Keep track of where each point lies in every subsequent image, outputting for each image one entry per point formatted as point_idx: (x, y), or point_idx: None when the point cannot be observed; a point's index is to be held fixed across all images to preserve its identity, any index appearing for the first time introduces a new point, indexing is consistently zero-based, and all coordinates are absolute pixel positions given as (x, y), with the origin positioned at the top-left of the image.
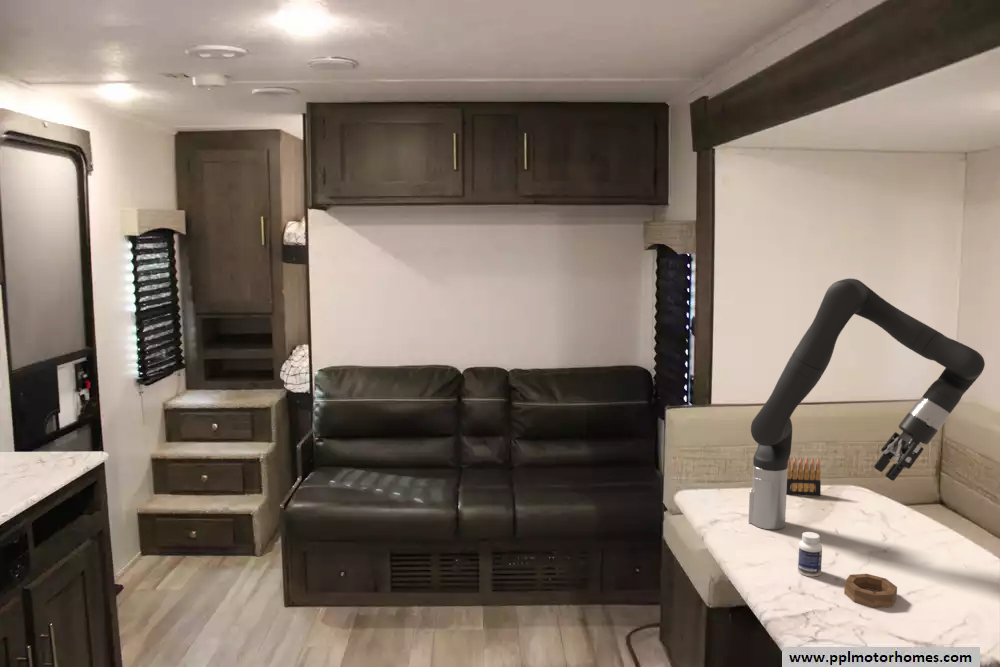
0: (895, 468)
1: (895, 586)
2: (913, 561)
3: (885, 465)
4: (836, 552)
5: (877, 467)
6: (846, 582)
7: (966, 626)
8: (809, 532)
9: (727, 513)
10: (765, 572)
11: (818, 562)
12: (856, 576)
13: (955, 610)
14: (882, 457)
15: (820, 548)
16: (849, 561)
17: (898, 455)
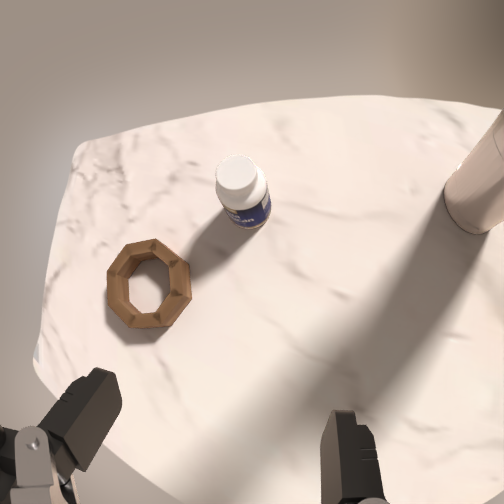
0: (49, 414)
1: (131, 325)
2: (302, 444)
3: (324, 479)
4: (349, 298)
5: (330, 426)
6: (151, 239)
7: None
8: (251, 172)
9: None
10: (250, 139)
11: (224, 208)
12: (172, 268)
13: None
14: (341, 487)
15: (221, 200)
16: (303, 310)
17: (31, 485)
